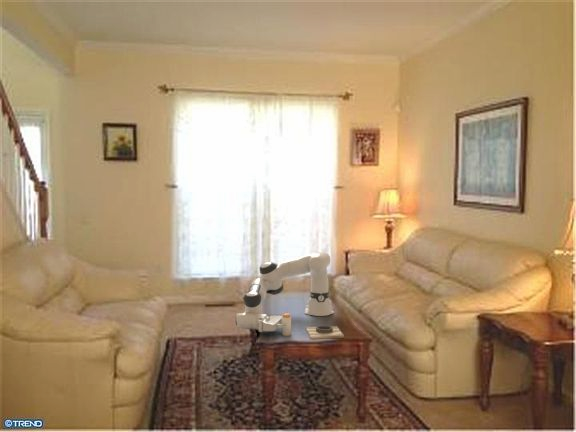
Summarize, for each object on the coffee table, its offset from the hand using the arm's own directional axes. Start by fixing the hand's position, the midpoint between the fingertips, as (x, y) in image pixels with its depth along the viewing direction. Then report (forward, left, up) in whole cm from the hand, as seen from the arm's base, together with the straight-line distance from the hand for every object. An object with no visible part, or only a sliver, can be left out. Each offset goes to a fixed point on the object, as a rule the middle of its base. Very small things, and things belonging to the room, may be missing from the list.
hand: (287, 323), depth 289 cm
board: (0, +21, -6) cm, 21 cm away
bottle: (0, 0, -6) cm, 6 cm away
